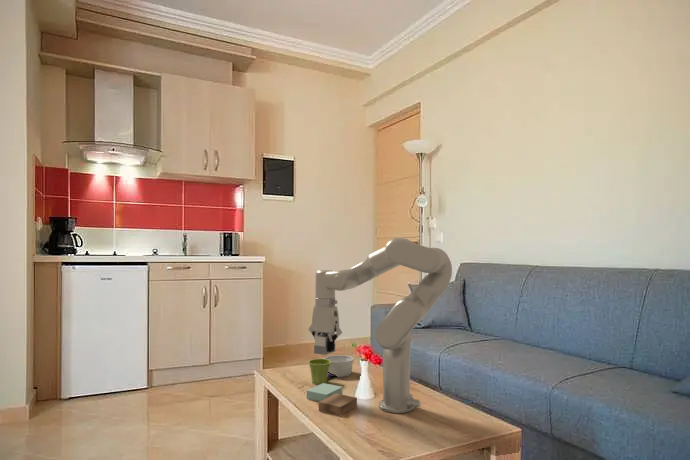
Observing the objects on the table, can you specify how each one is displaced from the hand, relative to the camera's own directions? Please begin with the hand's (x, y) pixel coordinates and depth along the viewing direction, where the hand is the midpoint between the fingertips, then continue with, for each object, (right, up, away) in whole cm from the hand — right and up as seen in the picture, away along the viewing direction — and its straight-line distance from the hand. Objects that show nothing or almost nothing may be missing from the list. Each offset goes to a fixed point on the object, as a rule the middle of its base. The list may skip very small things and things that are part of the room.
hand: (324, 349), depth 175 cm
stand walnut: (+5, -17, -13) cm, 22 cm away
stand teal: (0, -18, -1) cm, 18 cm away
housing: (0, -1, 0) cm, 1 cm away
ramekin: (+5, -19, +30) cm, 36 cm away
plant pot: (-3, -18, +18) cm, 26 cm away
